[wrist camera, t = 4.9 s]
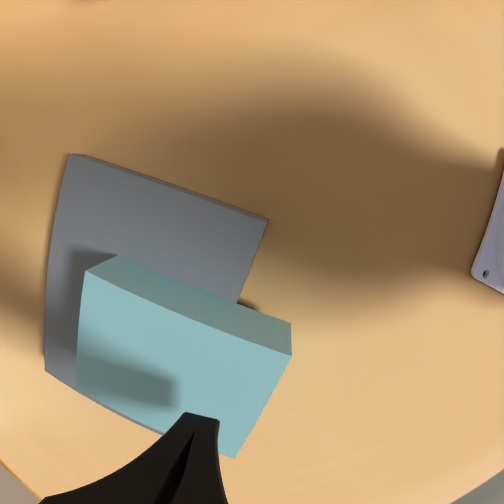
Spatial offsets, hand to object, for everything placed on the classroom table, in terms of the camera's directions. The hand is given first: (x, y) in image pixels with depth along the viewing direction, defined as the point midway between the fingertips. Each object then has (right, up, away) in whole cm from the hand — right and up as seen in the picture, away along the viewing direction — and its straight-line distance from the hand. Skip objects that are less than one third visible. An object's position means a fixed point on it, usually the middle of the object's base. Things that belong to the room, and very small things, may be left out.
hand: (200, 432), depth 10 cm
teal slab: (+2, 0, +3) cm, 4 cm away
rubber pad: (-5, +4, +6) cm, 9 cm away
